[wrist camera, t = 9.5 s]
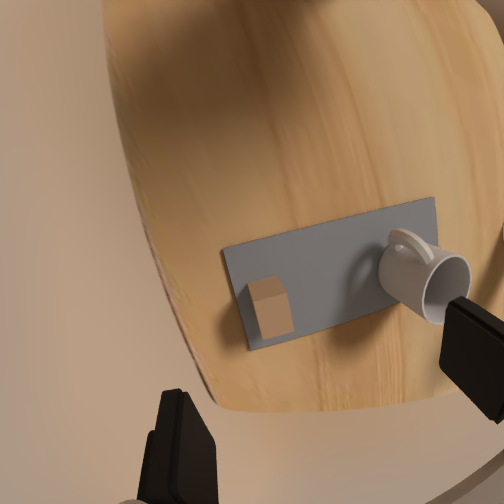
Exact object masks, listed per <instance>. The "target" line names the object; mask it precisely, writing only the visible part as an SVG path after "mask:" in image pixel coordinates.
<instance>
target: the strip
mask: <svg viewBox="0 0 504 504" xmlns="http://www.w3.org/2000/svg"><path fill="white" fill-rule="evenodd" d="M398 228H403V229H406V230H409V231H411V232H413V233H415V234H416V235H417V236H419V237H420V238H421V239H422V240H423V241H424V242H425V243H428V244H431V245H434V246H437V247H438V232H437V218H436V207H435V198H434V197H429V198H425V199H421V200H416V201H412V202H408V203H404V204H400V205H395V206H391V207H387V208H383V209H379V210H375V211H370V212H366V213H362V214H358V215H354V216H350V217H346V218H342V219H338V220H334V221H330V222H326V223H321V224H317V225H313V226H309V227H305V228H301V229H297V230H293V231H289V232H285V233H281V234H277V235H273V236H269V237H266V238H262V239H258V240H254V241H250V242H246V243H242V244H238V245H234V246H230V247H226V248H223V252H224V255H225V259H226V263H227V267H228V270H229V274H230V278H231V282H232V285H233V289H234V293H235V296H236V300H237V303H238V307H239V311H240V314H241V318H242V321H243V325H244V328H245V332H246V335H247V339H248V342H249V346H250V349H251V350H255V349H259V348H263V347H266V346H270V345H274V344H277V343H281V342H284V341H288V340H291V339H295V338H298V337H301V336H305V335H308V334H311V333H315V332H318V331H321V330H324V329H327V328H330V327H333V326H336V325H339V324H342V323H345V322H348V321H351V320H354V319H357V318H360V317H362V316H365V315H368V314H371V313H373V312H376V311H379V310H381V309H384V308H387V307H389V306H392V305H395V304H397V303H400V301H398V300H397V299H395V298H394V297H393V296H391V295H390V294H388V293H387V292H386V291H385V290H384V289H383V287H382V286H381V283H380V281H379V275H378V270H379V263H380V260H381V257H382V255H383V253H384V251H385V250H386V249H387V247H388V246H389V243H388V236H389V233H390V232H391V231H392V230H394V229H398Z"/></svg>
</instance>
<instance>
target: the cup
mask: <svg viewBox="0 0 504 504" xmlns="http://www.w3.org/2000/svg"><path fill="white" fill-rule="evenodd" d="M388 243H389V246H388V247H387V249H386V250H385V251H384V253H383V255H382V257H381V260H380V263H379V270H378V275H379V281H380V283H381V286H382V287H383V289H384V290H385V291H386V292H387V293H388V294H390V295H391V296H393V297H394V298H395V299H397V300H398V301H400V302H401V303H403V304H404V305H405V306H407V307H408V308H410V309H411V310H413V311H414V312H415V313H417V314H418V315H420V316H421V317H422V318H424V319H425V320H427V321H428V322H430V323H431V324H434V325H441V324H444V320H445V310H446V308H447V305H448V303H449V302H450V301H451V300H453V299H455V298H457V297H459V296H463V297H465V298H467V297H468V294H469V291H470V287H471V268H470V265H469V263H468V261H467V260H466V259H465V258H464V257H463V256H462V255H459V254H456V253H453V252H451V251H448V250H445V249H442V248H439V247H437V246H434V245H431V244H428V243H425V242H424V241H423V240H422V239H421V238H420V237H419V236H417V235H416V234H415V233H413V232H411V231H409V230H406V229H403V228H398V229H394V230H392V231H391V232H390V233H389V236H388Z"/></svg>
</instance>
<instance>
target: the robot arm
mask: <svg viewBox="0 0 504 504" xmlns="http://www.w3.org/2000/svg"><path fill="white" fill-rule="evenodd" d="M439 366H440V368H441V370H442V371H443V372H444V373H445V374H446V375H447V376H448V377H449V378H450V379H451V380H452V381H453V382H454V383H455V384H456V385H457V386H458V387H459V388H460V389H461V390H462V391H463V392H464V394H465V395H466V396H468V398H470V400H471V401H472V402H473V403H474V404H475V405H476V406H477V407H478V408H479V409H480V410H481V411H482V412H483V413H484V414H485V416H486V417H487V418H488V419H489V420H494V421H495V423H496V424H499V423H500V422H501V421H502V420H504V322H503V321H502V320H500V319H499V318H497V317H496V316H494V315H492V314H491V313H489V312H488V311H486V310H485V309H483V308H482V307H480V306H478V305H477V304H475V303H474V302H472V301H470V300H469V299H467V298H465V297H463V296H459V297H457V298H455V299H453V300H451V301H450V302H449V303H448V305H447V308H446V310H445V320H444V330H443V338H442V346H441V353H440V359H439ZM217 483H218V482H217V461H216V445H215V441H214V439H213V437H212V435H211V434H210V432H209V430H208V429H207V427H206V425H205V424H204V421H203V420H202V418H201V416H200V414H199V412H198V411H197V409H196V407H195V405H194V403H193V401H192V399H191V397H190V395H189V394H188V392H182V390H181V389H179V388H178V389H173V390H166V391H163V392H162V395H161V400H160V405H159V410H158V415H157V421H156V426H155V430H152V431H150V432H149V434H148V437H147V442H146V447H145V453H144V459H143V464H142V470H141V476H140V481H139V488H138V494H137V500H126V501H124V502H121V503H120V504H219V501H218V484H217ZM426 504H504V449H503V450H502V451H501V452H500V453H499V454H497V455H496V456H495V457H494V458H493V459H491V460H490V461H489V462H488V463H487V464H485V465H484V466H482V467H481V468H480V469H478V470H477V471H476V472H474V473H473V474H472V475H470V476H469V477H467V478H466V479H465V480H463V481H461V482H460V483H458V484H457V485H455V486H454V487H452V488H451V489H449V490H448V491H446V492H444V493H443V494H441V495H439V496H438V497H436V498H435V499H433V500H431V501H429V502H427V503H426Z"/></svg>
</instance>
